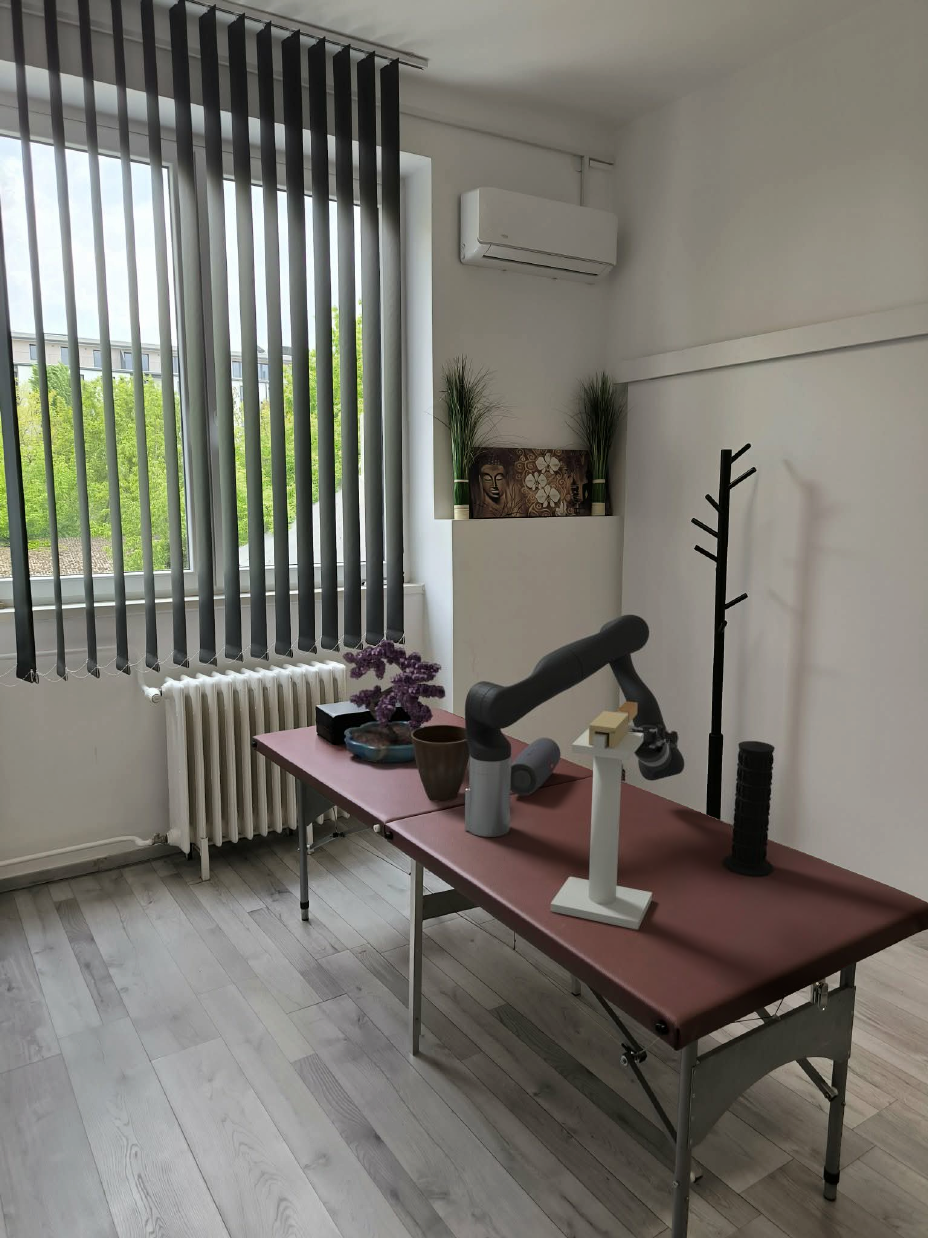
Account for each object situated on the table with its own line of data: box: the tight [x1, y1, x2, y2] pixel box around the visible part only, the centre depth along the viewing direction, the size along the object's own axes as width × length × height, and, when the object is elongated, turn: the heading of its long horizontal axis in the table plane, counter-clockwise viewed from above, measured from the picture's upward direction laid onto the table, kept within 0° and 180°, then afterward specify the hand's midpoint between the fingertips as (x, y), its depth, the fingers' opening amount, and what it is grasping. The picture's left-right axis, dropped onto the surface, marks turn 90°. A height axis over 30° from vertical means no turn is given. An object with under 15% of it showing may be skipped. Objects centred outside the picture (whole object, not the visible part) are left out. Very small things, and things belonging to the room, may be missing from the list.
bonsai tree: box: [342, 638, 446, 764], centre depth 247 cm, size 35×27×32 cm
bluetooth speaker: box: [510, 737, 562, 797], centre depth 227 cm, size 23×9×10 cm, turn 160°
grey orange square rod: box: [593, 700, 638, 749], centre depth 164 cm, size 2×25×2 cm, turn 157°
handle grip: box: [722, 740, 776, 878], centre depth 180 cm, size 10×26×10 cm
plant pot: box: [411, 724, 469, 802], centre depth 218 cm, size 15×15×16 cm
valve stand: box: [550, 710, 653, 931], centre depth 162 cm, size 16×12×36 cm
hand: (638, 727), depth 183 cm, fingers open, 8 cm apart
